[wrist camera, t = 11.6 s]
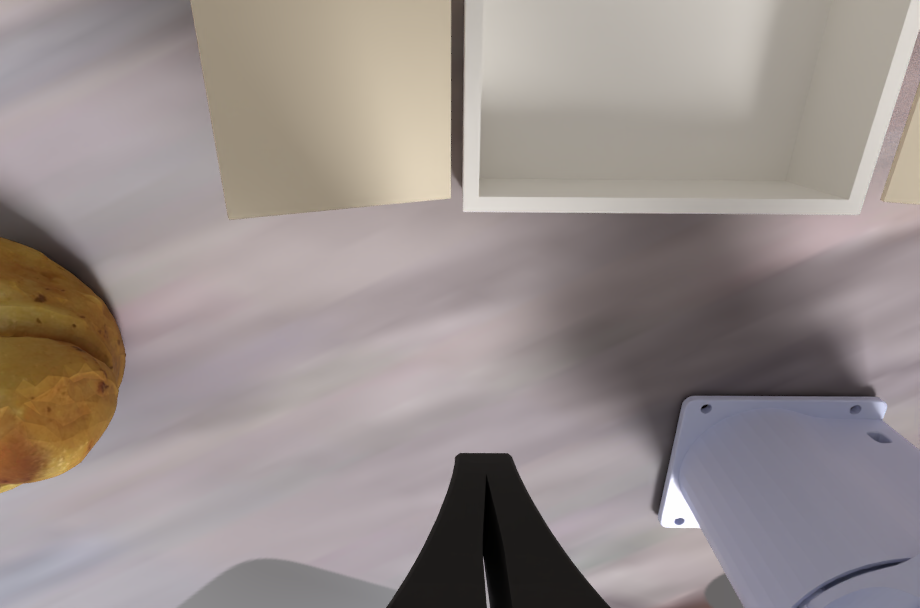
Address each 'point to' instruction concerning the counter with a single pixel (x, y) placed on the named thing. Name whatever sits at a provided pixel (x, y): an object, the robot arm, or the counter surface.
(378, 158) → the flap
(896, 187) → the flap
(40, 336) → the bread roll
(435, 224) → the counter surface
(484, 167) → the carton
